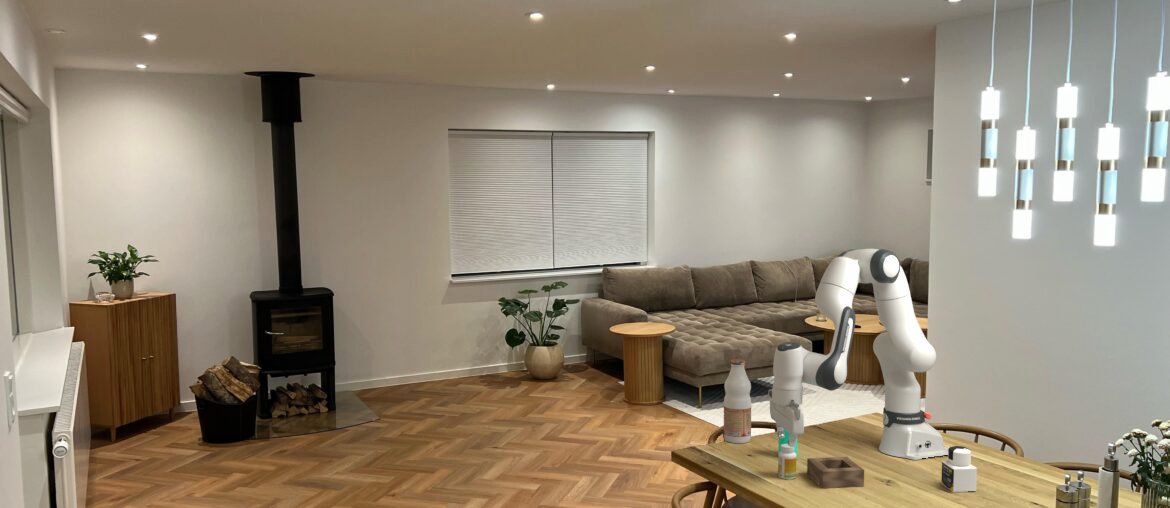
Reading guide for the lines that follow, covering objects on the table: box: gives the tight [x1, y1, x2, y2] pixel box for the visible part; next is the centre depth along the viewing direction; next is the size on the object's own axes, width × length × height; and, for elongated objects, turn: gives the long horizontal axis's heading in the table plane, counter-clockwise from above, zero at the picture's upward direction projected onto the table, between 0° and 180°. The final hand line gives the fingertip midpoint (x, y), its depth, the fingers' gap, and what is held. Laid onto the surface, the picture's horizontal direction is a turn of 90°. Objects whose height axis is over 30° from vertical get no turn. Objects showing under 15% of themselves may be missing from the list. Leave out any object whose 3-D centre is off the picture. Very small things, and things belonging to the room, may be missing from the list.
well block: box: [806, 456, 865, 490], centre depth 260 cm, size 12×12×5 cm
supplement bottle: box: [777, 444, 798, 480], centre depth 263 cm, size 5×5×10 cm
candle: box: [777, 429, 798, 458], centre depth 283 cm, size 6×6×12 cm
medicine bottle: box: [941, 445, 978, 493], centre depth 252 cm, size 7×7×12 cm
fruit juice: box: [723, 358, 752, 444], centre depth 301 cm, size 9×9×28 cm
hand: (786, 441), depth 263 cm, fingers open, 8 cm apart
